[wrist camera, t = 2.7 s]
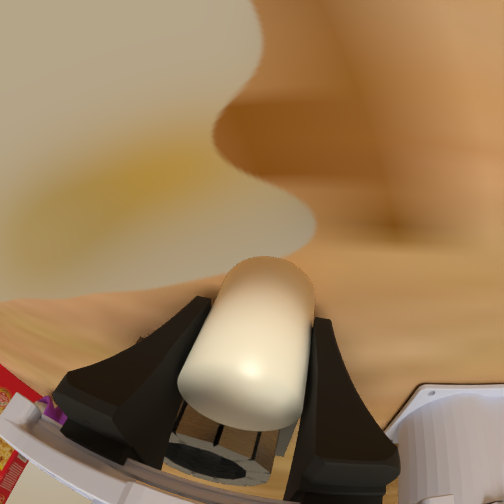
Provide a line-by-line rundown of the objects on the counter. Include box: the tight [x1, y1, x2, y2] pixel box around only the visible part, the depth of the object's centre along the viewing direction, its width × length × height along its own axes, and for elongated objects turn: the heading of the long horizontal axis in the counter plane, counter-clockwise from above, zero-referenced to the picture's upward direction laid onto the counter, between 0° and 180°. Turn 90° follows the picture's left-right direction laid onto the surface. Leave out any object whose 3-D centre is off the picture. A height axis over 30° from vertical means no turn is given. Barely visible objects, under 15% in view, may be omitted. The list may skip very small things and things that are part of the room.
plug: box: [177, 256, 315, 431], centre depth 12 cm, size 4×4×6 cm
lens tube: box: [136, 337, 298, 486], centre depth 19 cm, size 11×11×5 cm
